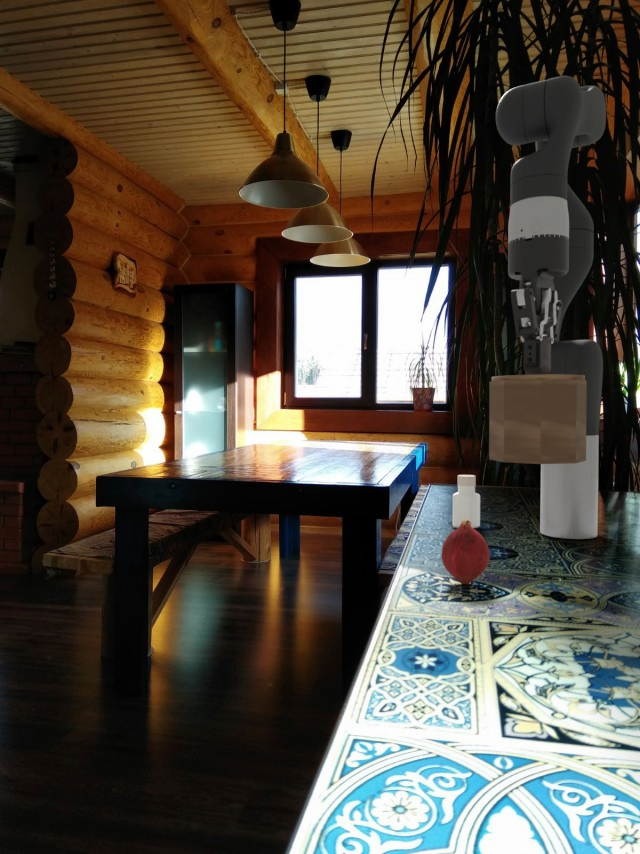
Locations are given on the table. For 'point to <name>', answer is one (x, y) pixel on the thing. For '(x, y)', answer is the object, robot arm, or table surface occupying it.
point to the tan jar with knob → (538, 416)
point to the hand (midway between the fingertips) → (537, 371)
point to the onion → (465, 553)
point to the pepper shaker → (466, 502)
